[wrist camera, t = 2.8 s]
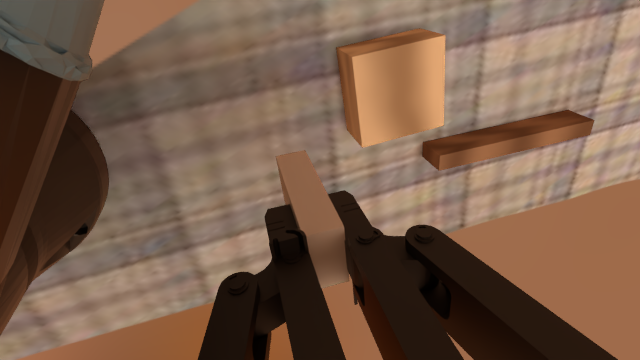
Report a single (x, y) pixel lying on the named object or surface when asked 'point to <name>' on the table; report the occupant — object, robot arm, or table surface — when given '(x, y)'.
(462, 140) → the lane
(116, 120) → the table surface
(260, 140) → the table surface
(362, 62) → the block
